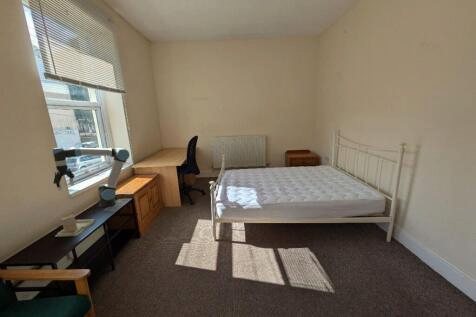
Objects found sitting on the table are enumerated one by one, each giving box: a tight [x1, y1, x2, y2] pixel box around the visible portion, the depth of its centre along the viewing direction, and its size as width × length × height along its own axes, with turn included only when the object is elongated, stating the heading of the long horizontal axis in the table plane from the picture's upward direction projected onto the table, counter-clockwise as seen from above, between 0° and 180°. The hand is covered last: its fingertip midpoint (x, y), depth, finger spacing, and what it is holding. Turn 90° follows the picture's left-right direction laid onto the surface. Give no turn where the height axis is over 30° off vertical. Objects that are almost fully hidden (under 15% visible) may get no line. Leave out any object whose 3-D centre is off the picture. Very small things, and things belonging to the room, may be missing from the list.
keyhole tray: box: [54, 218, 96, 238], centre depth 169 cm, size 22×17×2 cm
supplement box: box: [61, 214, 77, 233], centre depth 163 cm, size 8×5×13 cm, turn 133°
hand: (66, 187), depth 182 cm, fingers open, 13 cm apart
